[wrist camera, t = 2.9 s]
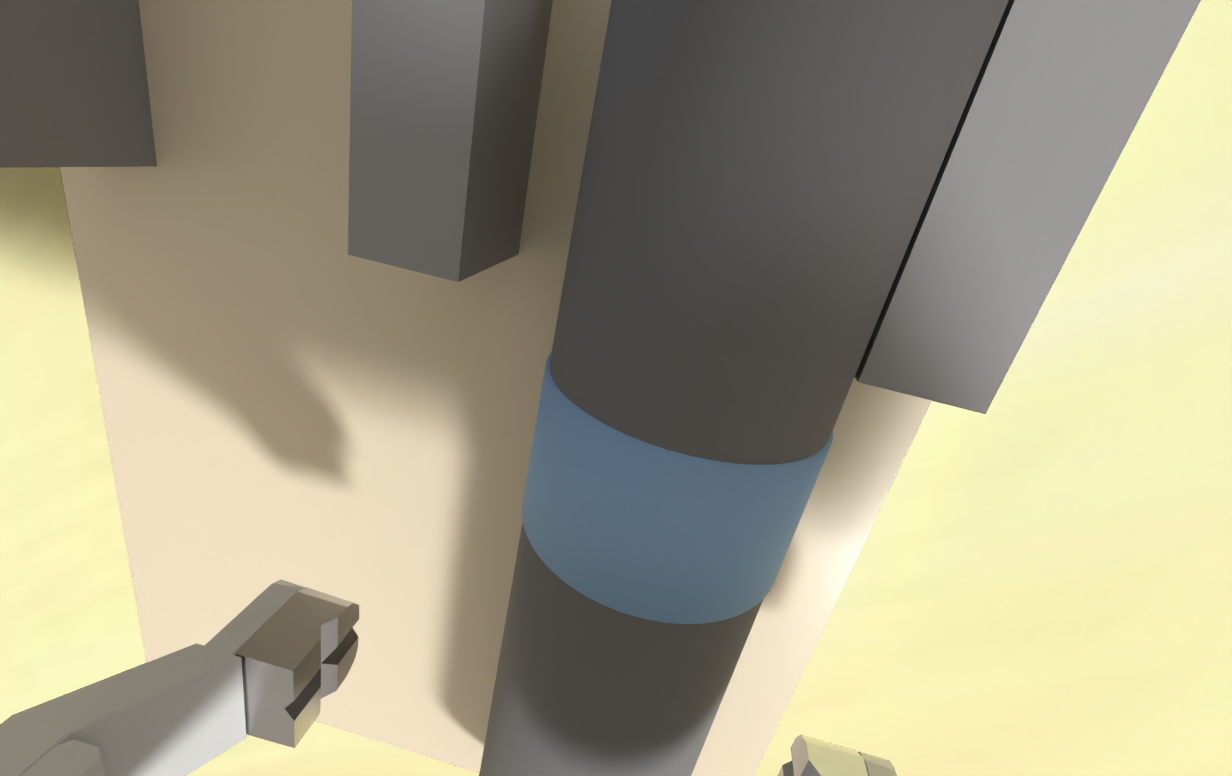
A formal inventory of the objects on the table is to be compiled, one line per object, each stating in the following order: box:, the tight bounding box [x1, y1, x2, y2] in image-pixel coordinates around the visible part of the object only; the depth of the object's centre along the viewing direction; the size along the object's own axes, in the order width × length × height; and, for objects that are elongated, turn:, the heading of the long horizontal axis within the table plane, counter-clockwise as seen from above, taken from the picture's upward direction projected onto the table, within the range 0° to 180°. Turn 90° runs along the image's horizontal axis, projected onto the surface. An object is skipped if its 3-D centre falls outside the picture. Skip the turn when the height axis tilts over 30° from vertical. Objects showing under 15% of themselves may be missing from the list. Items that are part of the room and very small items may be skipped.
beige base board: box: [0, 0, 1201, 776], centre depth 10 cm, size 22×17×4 cm
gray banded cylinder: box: [479, 0, 1009, 776], centre depth 10 cm, size 18×4×4 cm, turn 168°
